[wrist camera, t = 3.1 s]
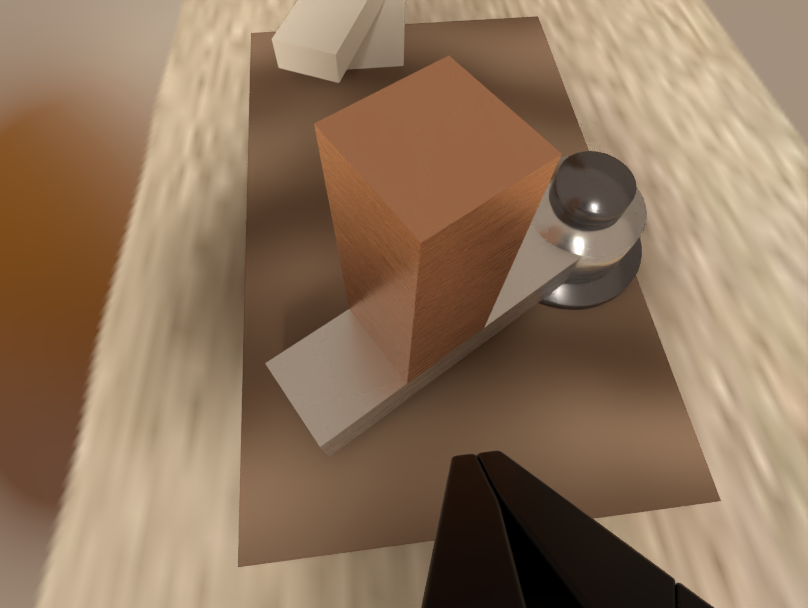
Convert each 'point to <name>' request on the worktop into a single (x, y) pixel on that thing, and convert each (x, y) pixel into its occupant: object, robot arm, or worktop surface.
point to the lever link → (432, 244)
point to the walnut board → (466, 380)
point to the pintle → (593, 221)
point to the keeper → (340, 37)
